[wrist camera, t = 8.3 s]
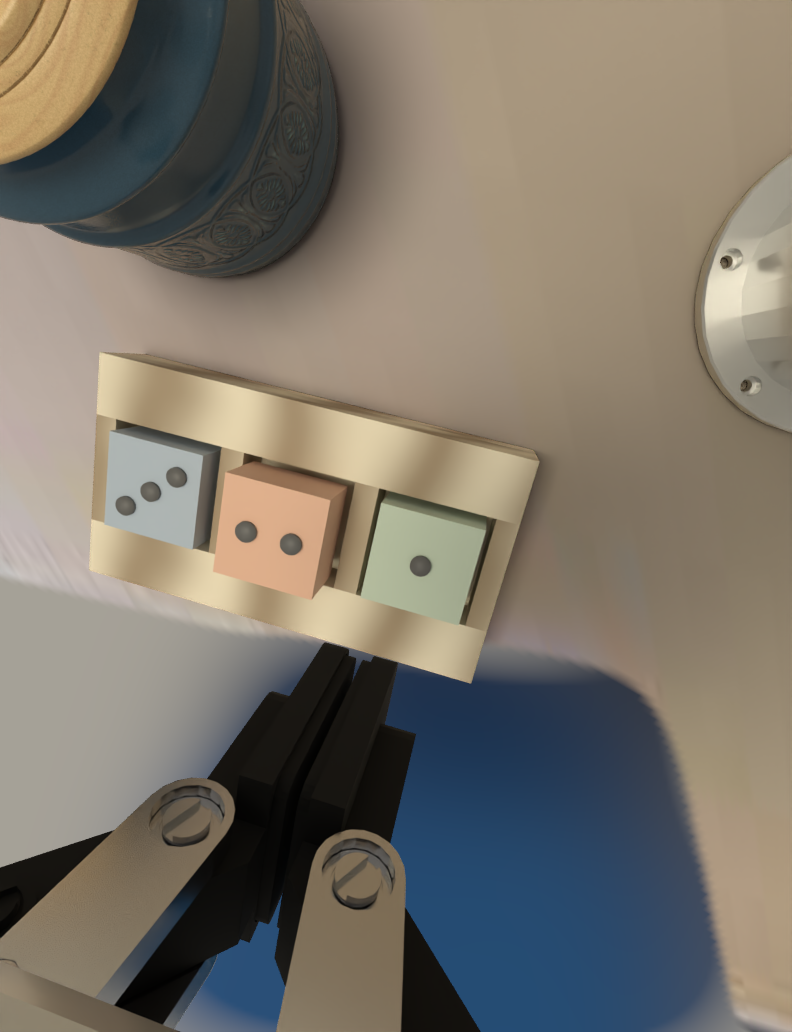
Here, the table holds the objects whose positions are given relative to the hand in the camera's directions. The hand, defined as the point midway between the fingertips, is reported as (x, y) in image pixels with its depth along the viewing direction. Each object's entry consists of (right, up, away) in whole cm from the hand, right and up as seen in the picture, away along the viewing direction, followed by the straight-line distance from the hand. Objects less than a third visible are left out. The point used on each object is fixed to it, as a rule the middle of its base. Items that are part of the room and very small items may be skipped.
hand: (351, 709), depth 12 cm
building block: (-11, +6, +18) cm, 22 cm away
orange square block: (-4, +4, +16) cm, 17 cm away
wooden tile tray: (-4, +5, +19) cm, 20 cm away
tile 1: (+3, +3, +16) cm, 17 cm away
